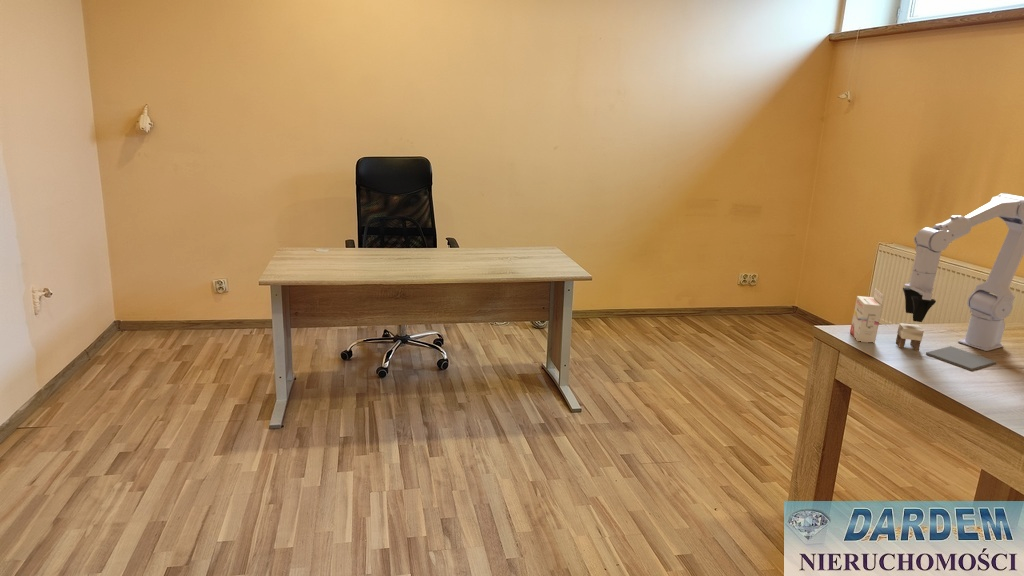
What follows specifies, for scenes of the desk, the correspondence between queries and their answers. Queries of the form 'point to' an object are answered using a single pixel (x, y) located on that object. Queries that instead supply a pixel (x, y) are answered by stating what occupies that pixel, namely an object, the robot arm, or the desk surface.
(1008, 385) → the desk surface
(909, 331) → the stool
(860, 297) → the ink cartridge box
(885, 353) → the desk surface
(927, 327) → the desk surface
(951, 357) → the mat
